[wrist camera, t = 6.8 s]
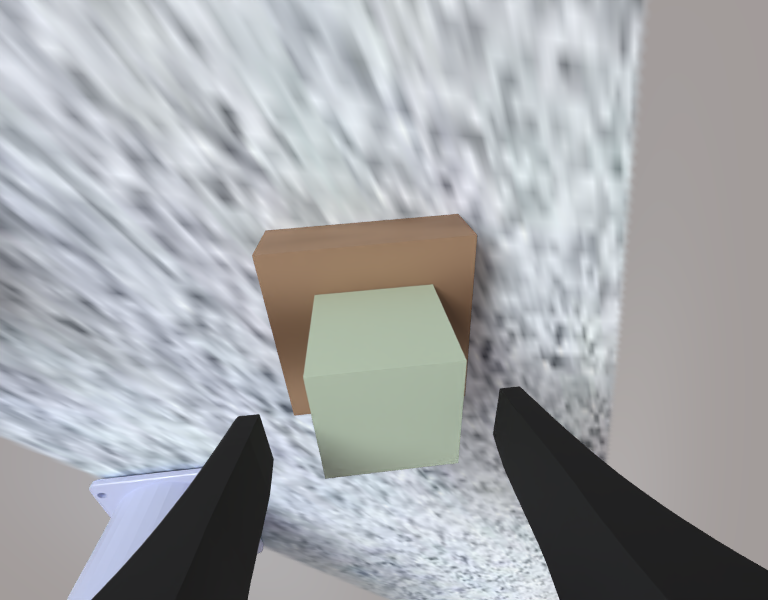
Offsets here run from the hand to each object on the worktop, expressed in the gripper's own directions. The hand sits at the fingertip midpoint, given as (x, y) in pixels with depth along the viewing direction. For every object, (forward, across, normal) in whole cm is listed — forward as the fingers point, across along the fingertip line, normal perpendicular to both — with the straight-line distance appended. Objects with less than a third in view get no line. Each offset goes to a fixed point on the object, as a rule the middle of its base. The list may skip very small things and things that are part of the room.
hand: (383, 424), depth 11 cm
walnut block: (+8, 0, 0) cm, 8 cm away
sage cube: (+4, 0, 0) cm, 5 cm away
